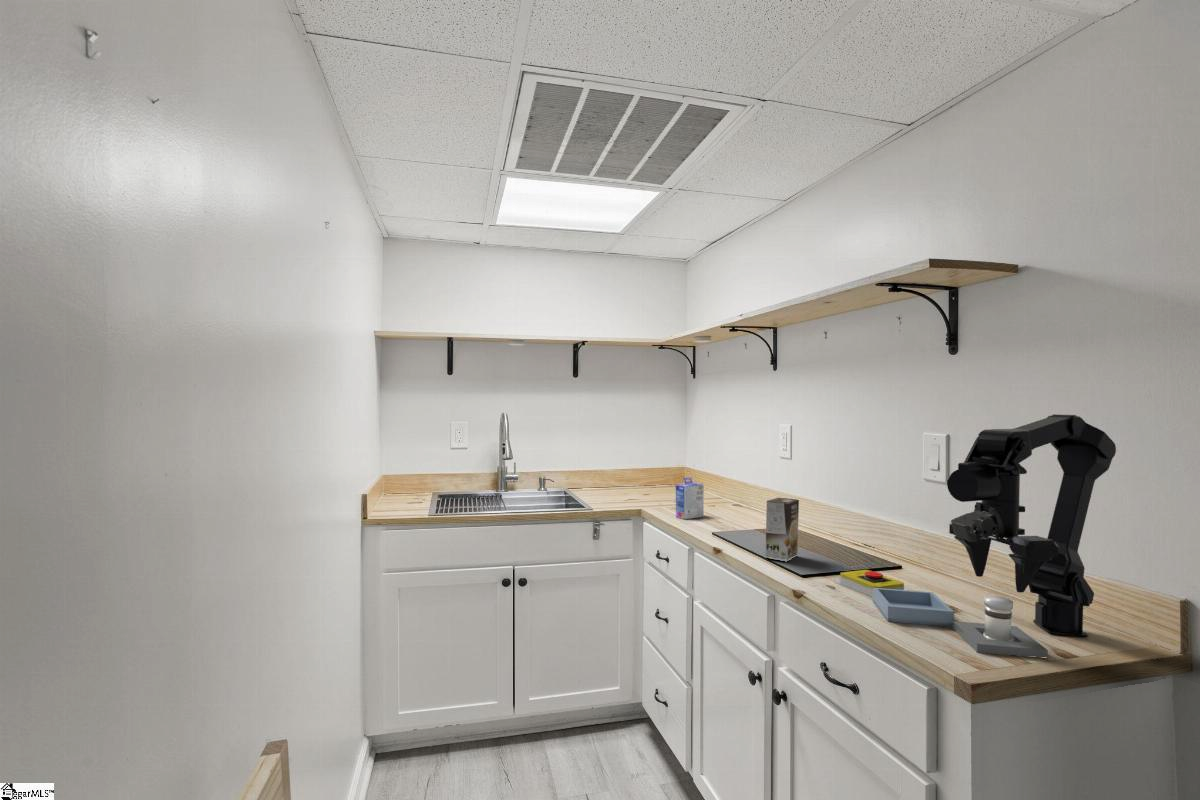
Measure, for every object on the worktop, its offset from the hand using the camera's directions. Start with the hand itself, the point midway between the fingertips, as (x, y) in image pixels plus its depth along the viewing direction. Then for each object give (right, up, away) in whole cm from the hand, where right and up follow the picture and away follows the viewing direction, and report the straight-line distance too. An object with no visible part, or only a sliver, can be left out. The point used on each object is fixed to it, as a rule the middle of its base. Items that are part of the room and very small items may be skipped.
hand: (998, 584), depth 108 cm
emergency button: (-10, -11, +30) cm, 34 cm away
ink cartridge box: (-40, -10, +111) cm, 118 cm away
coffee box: (-22, -10, +56) cm, 62 cm away
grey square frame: (0, -11, 0) cm, 11 cm away
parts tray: (-9, -11, +14) cm, 20 cm away
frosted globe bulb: (0, -11, 0) cm, 11 cm away
